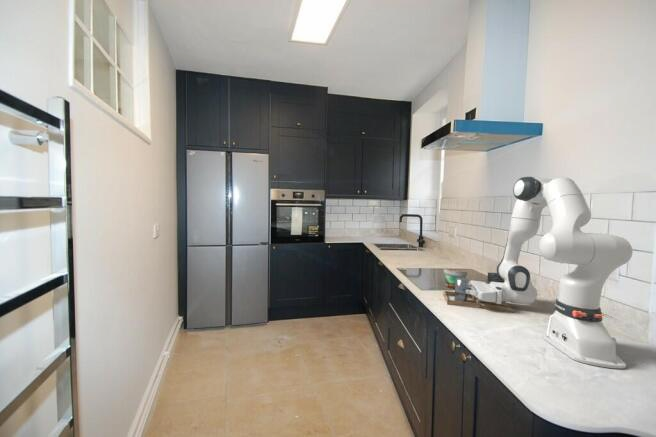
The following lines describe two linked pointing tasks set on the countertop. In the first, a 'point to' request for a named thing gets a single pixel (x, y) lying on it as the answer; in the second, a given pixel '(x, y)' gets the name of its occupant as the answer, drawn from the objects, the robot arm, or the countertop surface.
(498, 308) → the wooden tray board
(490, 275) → the small box
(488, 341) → the countertop surface
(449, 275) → the food container
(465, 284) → the slate tin
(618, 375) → the countertop surface
